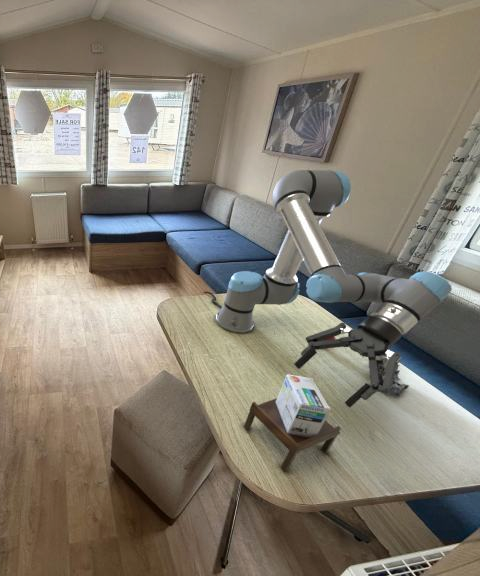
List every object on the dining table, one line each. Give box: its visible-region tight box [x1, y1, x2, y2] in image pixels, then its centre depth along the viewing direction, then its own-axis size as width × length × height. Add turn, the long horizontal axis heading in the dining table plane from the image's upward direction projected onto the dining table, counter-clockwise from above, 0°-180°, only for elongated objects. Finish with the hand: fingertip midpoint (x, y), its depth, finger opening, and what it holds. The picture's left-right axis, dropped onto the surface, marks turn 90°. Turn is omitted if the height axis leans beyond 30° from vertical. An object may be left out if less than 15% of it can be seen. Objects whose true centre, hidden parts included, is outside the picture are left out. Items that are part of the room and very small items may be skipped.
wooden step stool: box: [243, 397, 342, 473], centre depth 83 cm, size 14×16×10 cm
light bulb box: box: [276, 374, 332, 438], centre depth 79 cm, size 11×7×11 cm, turn 169°
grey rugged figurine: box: [376, 354, 410, 397], centre depth 105 cm, size 12×11×15 cm
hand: (319, 384), depth 78 cm, fingers open, 13 cm apart
